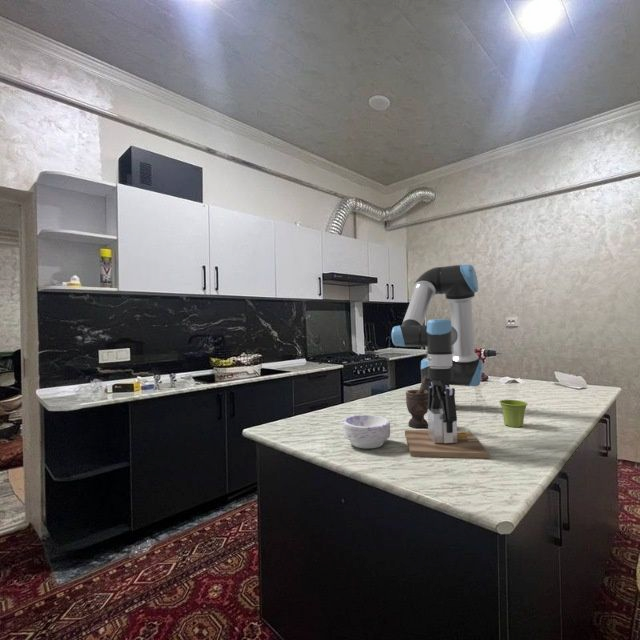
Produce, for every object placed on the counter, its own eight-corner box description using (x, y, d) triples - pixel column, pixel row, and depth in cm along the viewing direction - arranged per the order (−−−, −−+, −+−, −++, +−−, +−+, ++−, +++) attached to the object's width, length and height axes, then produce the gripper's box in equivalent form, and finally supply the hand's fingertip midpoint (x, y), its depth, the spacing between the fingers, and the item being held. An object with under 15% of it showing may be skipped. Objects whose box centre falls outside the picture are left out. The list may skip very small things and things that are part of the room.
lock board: (404, 434, 130) (404, 429, 130) (470, 435, 127) (469, 430, 127) (410, 456, 109) (410, 450, 109) (489, 458, 105) (489, 452, 105)
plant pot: (526, 423, 140) (526, 400, 140) (529, 430, 132) (528, 405, 132) (499, 421, 144) (498, 399, 144) (500, 427, 136) (499, 404, 136)
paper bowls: (379, 455, 110) (378, 428, 110) (335, 447, 118) (334, 422, 118) (397, 441, 123) (396, 417, 123) (356, 435, 131) (355, 412, 131)
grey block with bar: (434, 443, 114) (433, 414, 115) (428, 436, 121) (427, 408, 122) (470, 442, 114) (469, 413, 114) (462, 435, 121) (461, 408, 121)
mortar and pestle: (441, 427, 138) (440, 373, 138) (428, 432, 132) (426, 376, 132) (415, 421, 146) (414, 371, 147) (402, 426, 141) (400, 373, 141)
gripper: (416, 364, 128) (417, 430, 128) (444, 371, 108) (446, 450, 107) (436, 363, 129) (438, 428, 129) (468, 370, 109) (470, 448, 108)
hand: (442, 438), depth 118 cm, fingers closed on grey block with bar, 8 cm apart
